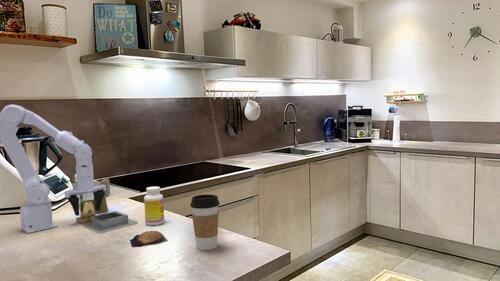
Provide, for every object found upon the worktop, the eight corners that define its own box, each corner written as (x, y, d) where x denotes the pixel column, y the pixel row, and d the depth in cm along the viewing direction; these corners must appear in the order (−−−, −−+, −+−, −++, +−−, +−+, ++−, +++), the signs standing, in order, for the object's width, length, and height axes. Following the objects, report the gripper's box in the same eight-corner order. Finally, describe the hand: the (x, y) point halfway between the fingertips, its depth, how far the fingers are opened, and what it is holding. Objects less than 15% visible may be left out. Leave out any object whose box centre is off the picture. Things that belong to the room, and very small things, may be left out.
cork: (103, 209, 154) (102, 183, 153) (111, 211, 150) (109, 184, 150) (89, 212, 150) (87, 185, 149) (97, 214, 146) (95, 187, 145)
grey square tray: (99, 233, 122) (99, 224, 122) (81, 225, 132) (81, 217, 132) (137, 223, 133) (137, 214, 132) (118, 216, 142) (117, 208, 142)
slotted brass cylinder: (83, 219, 134) (82, 203, 133) (78, 217, 137) (77, 201, 137) (97, 216, 137) (96, 200, 137) (91, 214, 141) (90, 198, 140)
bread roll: (162, 236, 120) (161, 224, 119) (169, 243, 112) (168, 231, 112) (128, 242, 115) (127, 230, 115) (133, 250, 107) (132, 238, 107)
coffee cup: (196, 254, 101) (194, 200, 100) (189, 244, 109) (186, 194, 108) (225, 248, 105) (223, 196, 103) (216, 239, 112) (214, 191, 111)
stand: (83, 224, 133) (83, 220, 133) (76, 221, 137) (76, 217, 137) (99, 220, 138) (99, 216, 137) (92, 217, 142) (92, 214, 142)
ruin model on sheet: (107, 198, 178) (106, 178, 177) (101, 198, 177) (99, 178, 176) (111, 193, 189) (110, 174, 188) (104, 193, 188) (103, 174, 187)
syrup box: (75, 207, 159) (73, 174, 158) (89, 204, 164) (87, 172, 163) (81, 209, 155) (79, 175, 154) (95, 206, 160) (93, 173, 159)
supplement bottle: (163, 225, 129) (161, 189, 128) (144, 226, 128) (142, 190, 127) (165, 219, 136) (163, 185, 135) (146, 221, 135) (144, 186, 134)
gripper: (69, 181, 128) (71, 219, 129) (108, 174, 139) (111, 210, 140) (61, 179, 133) (64, 215, 134) (100, 173, 144) (102, 207, 145)
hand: (87, 212), depth 137 cm, fingers open, 7 cm apart
